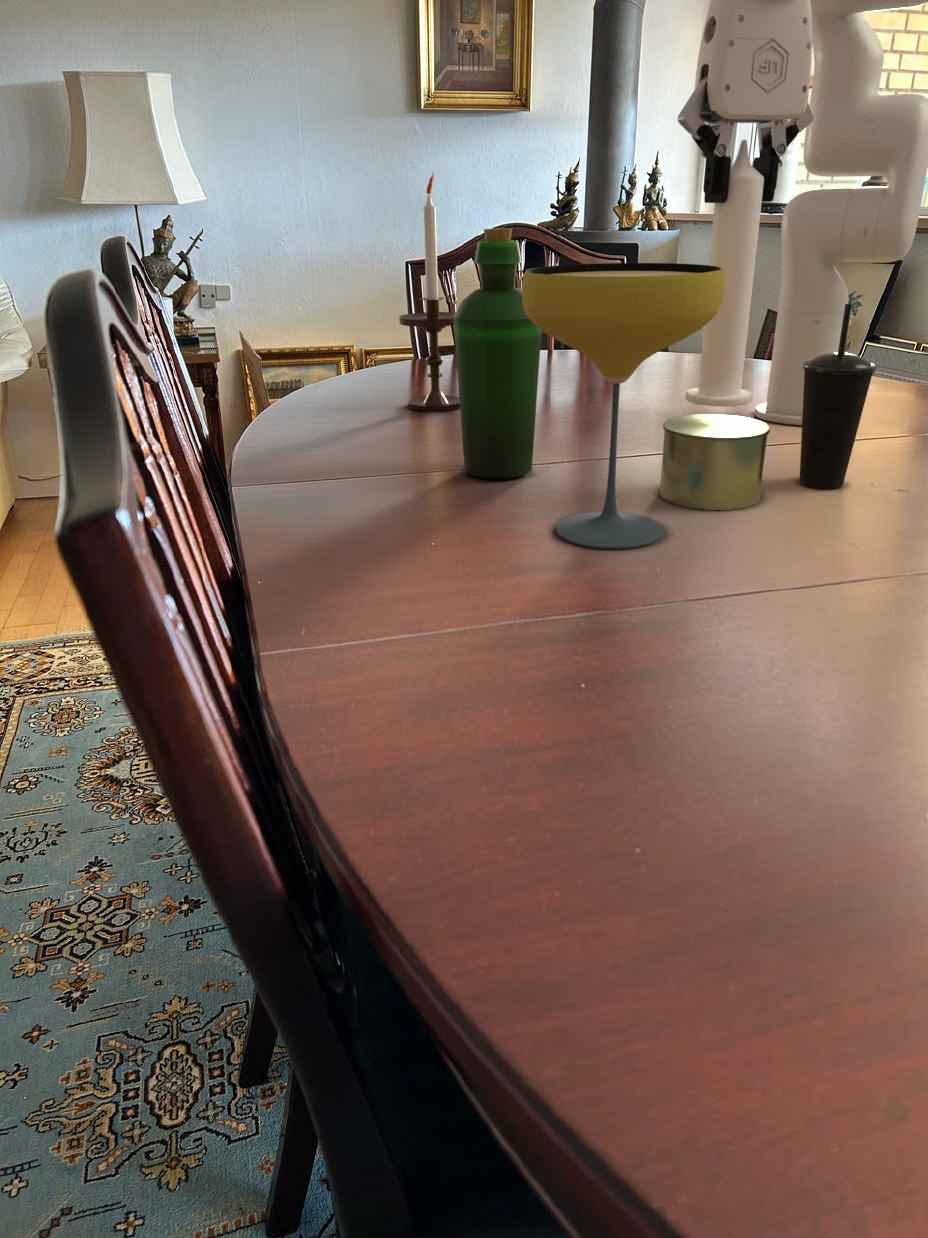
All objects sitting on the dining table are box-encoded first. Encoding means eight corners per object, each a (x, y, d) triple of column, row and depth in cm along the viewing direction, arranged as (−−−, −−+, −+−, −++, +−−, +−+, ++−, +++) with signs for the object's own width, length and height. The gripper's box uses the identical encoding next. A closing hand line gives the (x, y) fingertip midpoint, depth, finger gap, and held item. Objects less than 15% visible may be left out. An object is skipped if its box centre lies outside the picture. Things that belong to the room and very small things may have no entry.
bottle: (550, 464, 115) (555, 226, 103) (528, 486, 106) (531, 229, 94) (471, 458, 118) (468, 227, 106) (444, 480, 109) (436, 230, 97)
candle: (755, 407, 93) (786, 135, 83) (685, 405, 95) (708, 138, 84) (749, 394, 99) (778, 140, 89) (684, 393, 101) (705, 142, 90)
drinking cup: (823, 496, 100) (852, 309, 92) (772, 480, 106) (795, 303, 98) (870, 486, 103) (903, 304, 95) (819, 471, 109) (845, 298, 101)
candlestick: (471, 399, 154) (467, 172, 139) (465, 412, 144) (460, 170, 129) (408, 399, 155) (398, 174, 140) (398, 412, 145) (386, 172, 130)
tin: (724, 477, 108) (731, 410, 105) (782, 503, 98) (792, 431, 95) (640, 487, 105) (644, 419, 102) (691, 515, 95) (698, 441, 92)
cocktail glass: (661, 576, 80) (685, 278, 69) (488, 543, 89) (485, 274, 78) (723, 519, 94) (750, 263, 83) (567, 495, 102) (574, 261, 92)
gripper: (700, -35, 75) (682, 203, 83) (866, -25, 80) (834, 199, 88) (657, -15, 82) (644, 204, 90) (812, -8, 87) (787, 200, 94)
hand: (738, 199), depth 89 cm, fingers closed on candle, 4 cm apart
